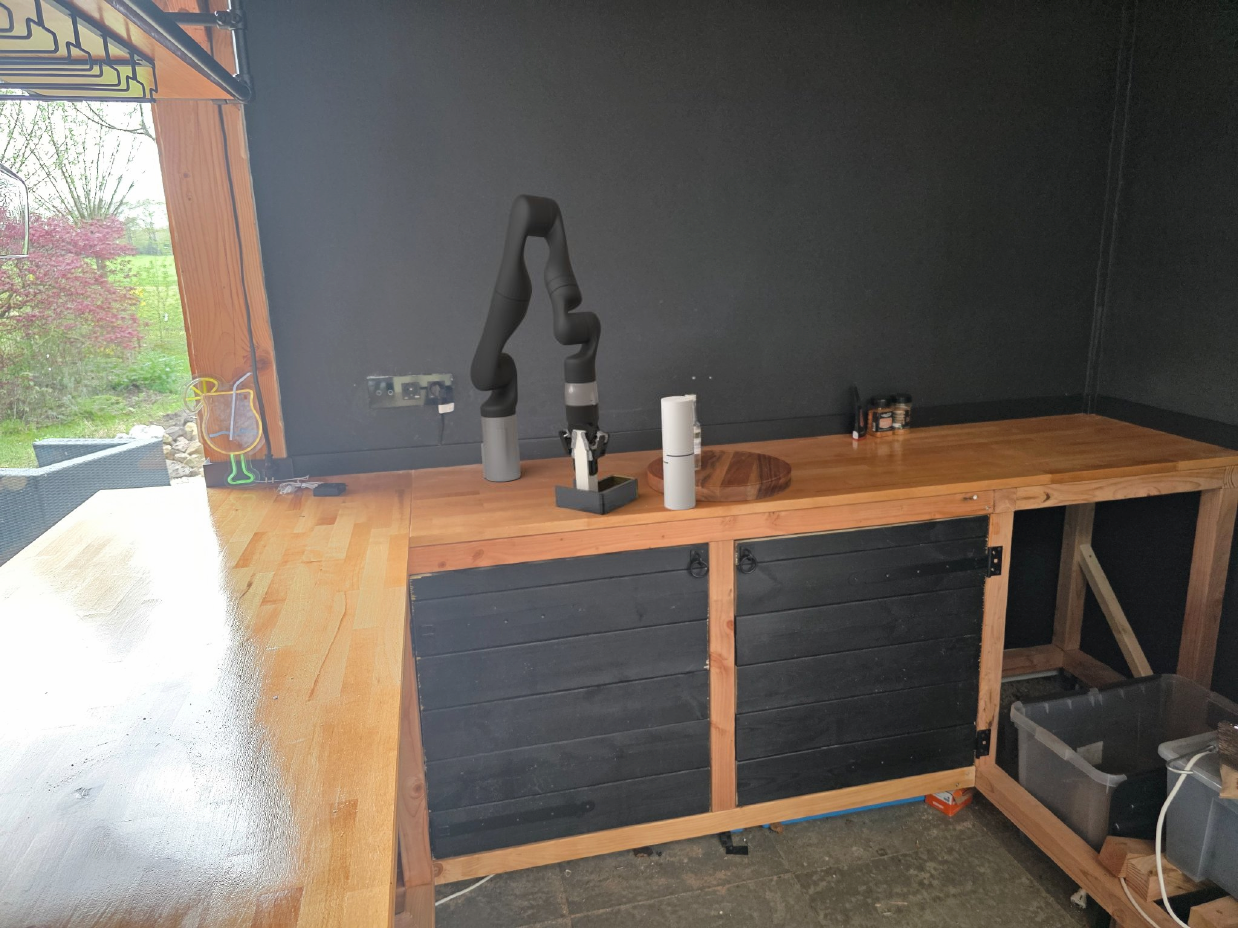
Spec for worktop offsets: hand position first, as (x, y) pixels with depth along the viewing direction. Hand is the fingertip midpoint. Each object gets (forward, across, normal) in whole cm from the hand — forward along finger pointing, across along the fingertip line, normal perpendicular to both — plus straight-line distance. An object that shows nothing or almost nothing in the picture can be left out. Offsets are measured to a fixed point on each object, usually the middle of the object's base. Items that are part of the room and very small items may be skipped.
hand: (586, 473), depth 196 cm
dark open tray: (+8, 0, +3) cm, 9 cm away
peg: (+5, 0, 0) cm, 5 cm away
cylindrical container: (+8, +19, +11) cm, 23 cm away
